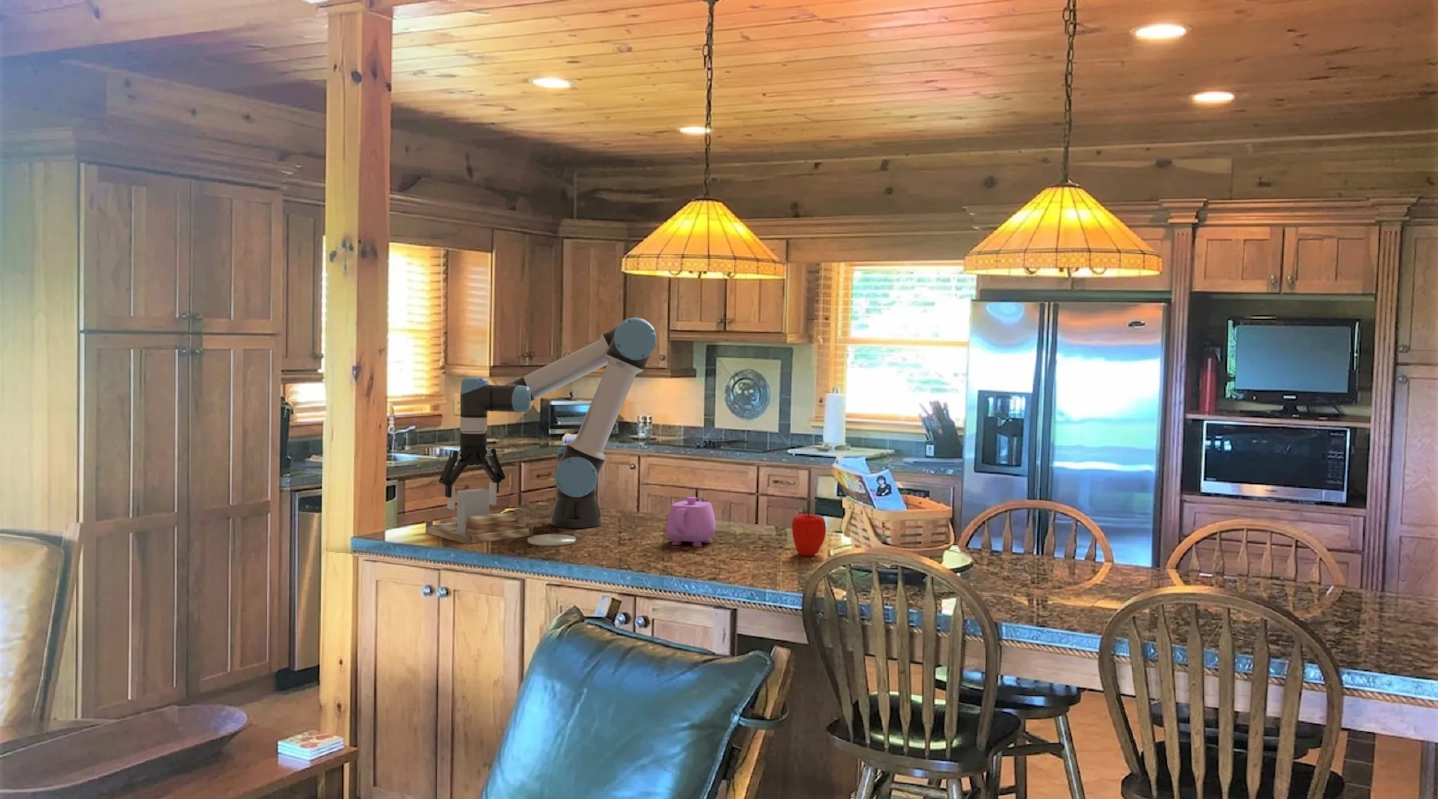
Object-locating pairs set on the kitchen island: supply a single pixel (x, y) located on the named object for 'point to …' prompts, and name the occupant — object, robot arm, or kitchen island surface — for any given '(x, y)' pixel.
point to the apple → (808, 533)
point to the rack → (468, 538)
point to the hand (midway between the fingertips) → (472, 506)
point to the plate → (551, 540)
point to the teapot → (691, 522)
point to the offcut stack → (491, 523)
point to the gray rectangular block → (471, 506)
